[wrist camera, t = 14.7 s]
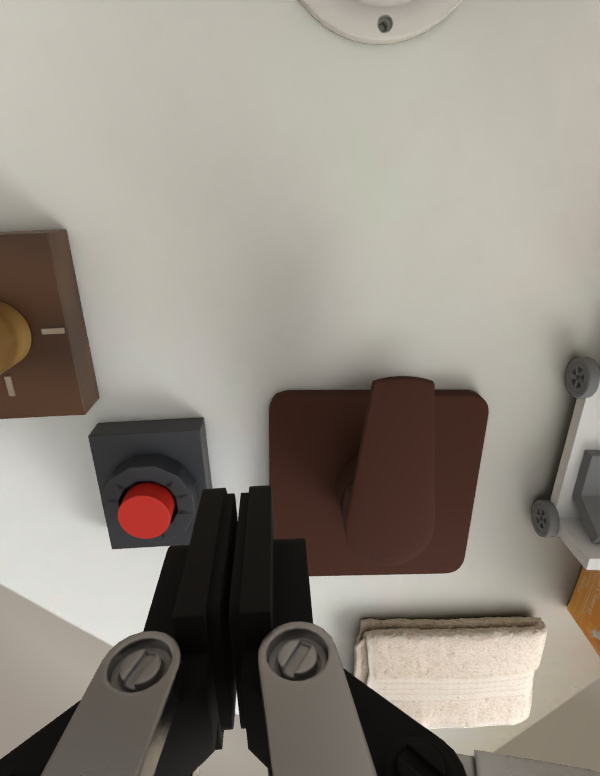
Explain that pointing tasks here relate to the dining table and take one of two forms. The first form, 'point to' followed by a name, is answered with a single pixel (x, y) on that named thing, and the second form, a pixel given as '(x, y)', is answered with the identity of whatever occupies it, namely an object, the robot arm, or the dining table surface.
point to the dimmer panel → (45, 328)
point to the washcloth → (452, 667)
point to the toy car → (577, 472)
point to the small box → (587, 605)
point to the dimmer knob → (12, 337)
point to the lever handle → (377, 475)
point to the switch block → (152, 472)
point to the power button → (146, 510)
